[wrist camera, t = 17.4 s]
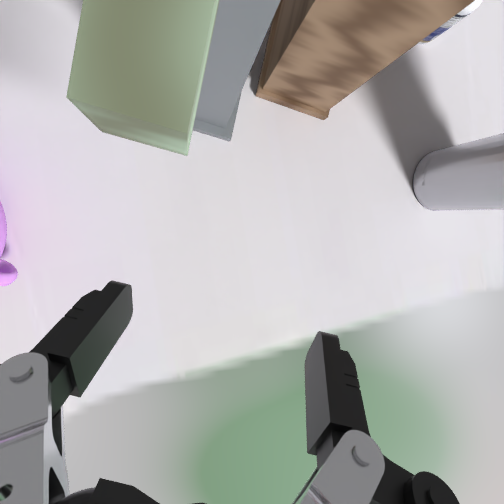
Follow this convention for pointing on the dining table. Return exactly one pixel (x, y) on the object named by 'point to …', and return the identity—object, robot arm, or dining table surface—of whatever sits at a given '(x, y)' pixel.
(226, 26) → the grey stand
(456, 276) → the dining table surface
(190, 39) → the peg
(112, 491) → the robot arm
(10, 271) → the teapot
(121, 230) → the dining table surface
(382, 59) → the walnut stand
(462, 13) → the pill bottle
